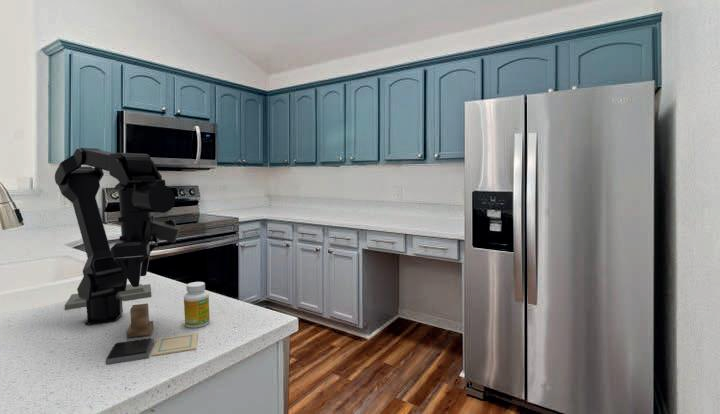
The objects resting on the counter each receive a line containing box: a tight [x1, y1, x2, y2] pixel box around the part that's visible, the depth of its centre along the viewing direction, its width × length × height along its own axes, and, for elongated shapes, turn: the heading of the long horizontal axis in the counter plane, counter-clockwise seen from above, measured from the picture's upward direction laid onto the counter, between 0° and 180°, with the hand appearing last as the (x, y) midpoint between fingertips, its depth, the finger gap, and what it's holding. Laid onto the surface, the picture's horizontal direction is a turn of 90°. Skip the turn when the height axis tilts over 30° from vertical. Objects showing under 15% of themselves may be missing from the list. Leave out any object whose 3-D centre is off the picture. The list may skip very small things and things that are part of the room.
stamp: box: [126, 303, 155, 340], centre depth 84 cm, size 4×4×6 cm
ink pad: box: [105, 337, 155, 365], centre depth 75 cm, size 7×7×1 cm
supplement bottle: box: [183, 281, 210, 329], centre depth 89 cm, size 5×5×10 cm
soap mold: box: [64, 283, 152, 311], centre depth 108 cm, size 10×20×4 cm, turn 120°
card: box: [151, 332, 199, 357], centre depth 79 cm, size 8×8×1 cm
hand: (139, 281), depth 83 cm, fingers open, 9 cm apart
